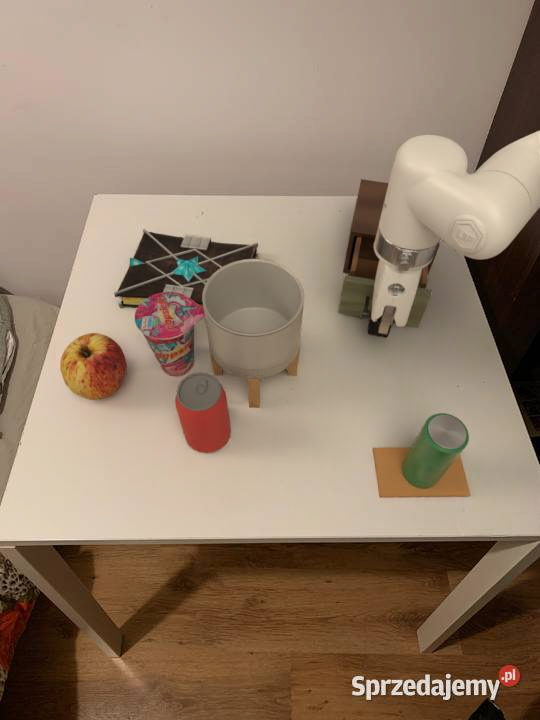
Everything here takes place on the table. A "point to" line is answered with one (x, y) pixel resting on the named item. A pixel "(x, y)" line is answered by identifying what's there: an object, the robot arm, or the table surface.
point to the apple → (93, 366)
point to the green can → (434, 450)
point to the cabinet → (367, 217)
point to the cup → (170, 329)
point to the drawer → (362, 283)
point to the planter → (253, 321)
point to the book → (176, 266)
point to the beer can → (203, 412)
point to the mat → (397, 485)
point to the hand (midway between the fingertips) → (377, 332)
